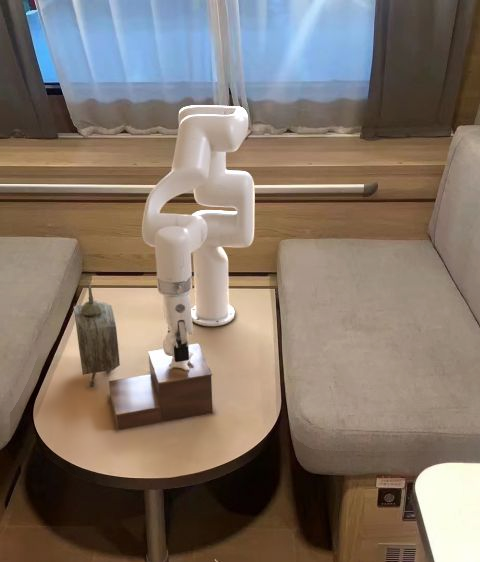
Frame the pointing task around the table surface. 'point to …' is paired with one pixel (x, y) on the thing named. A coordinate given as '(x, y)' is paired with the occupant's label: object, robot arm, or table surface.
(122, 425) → the step shelf
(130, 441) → the table surface
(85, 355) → the spike-topped wooden block
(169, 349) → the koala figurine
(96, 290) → the table surface
